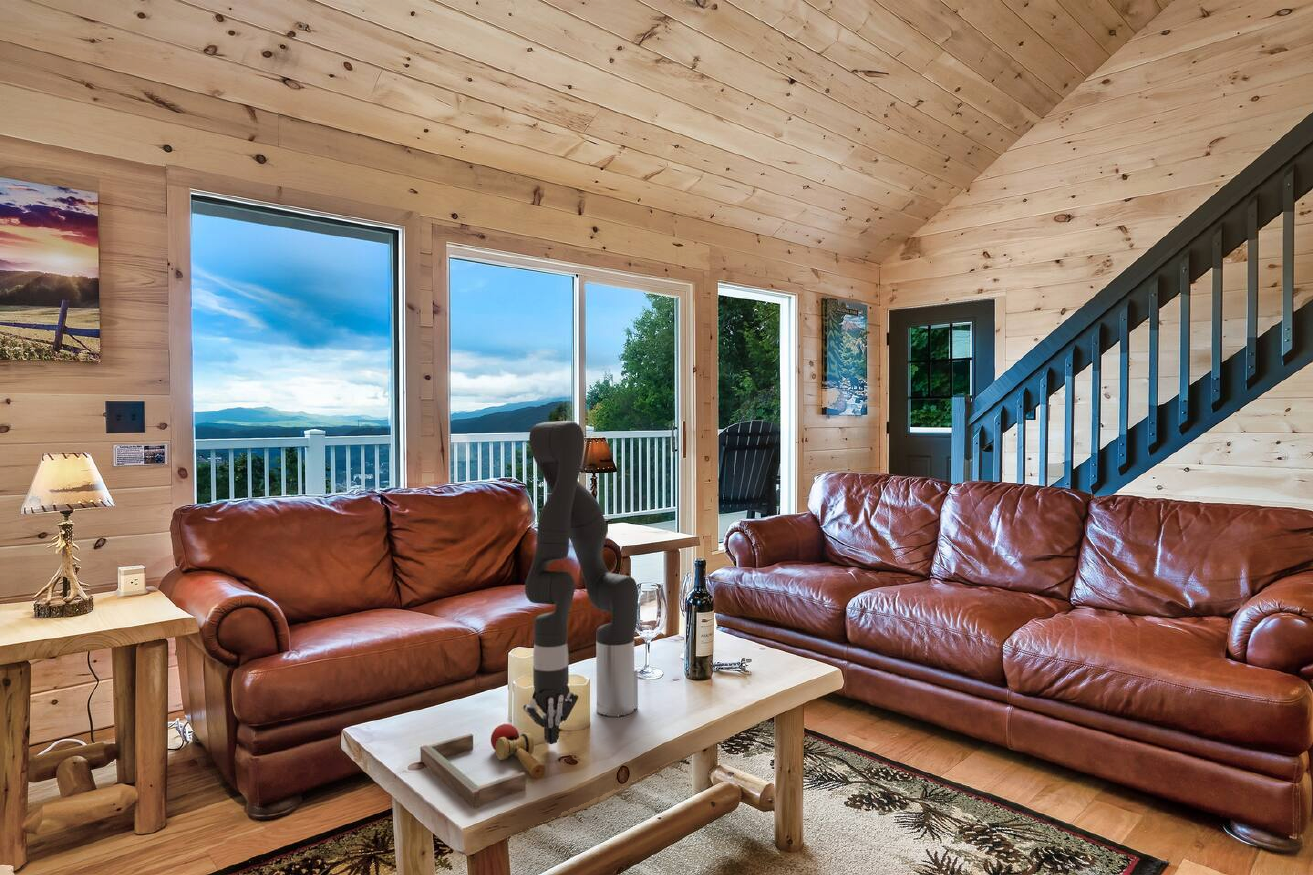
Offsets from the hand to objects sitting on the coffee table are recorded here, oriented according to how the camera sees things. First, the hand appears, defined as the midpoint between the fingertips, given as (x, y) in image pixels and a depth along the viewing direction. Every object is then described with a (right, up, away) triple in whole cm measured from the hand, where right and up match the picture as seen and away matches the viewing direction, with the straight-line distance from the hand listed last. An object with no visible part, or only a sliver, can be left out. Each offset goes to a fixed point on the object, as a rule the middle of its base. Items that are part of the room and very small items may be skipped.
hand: (551, 742), depth 170 cm
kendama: (-6, -2, -6) cm, 9 cm away
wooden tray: (-14, -2, -11) cm, 18 cm away
